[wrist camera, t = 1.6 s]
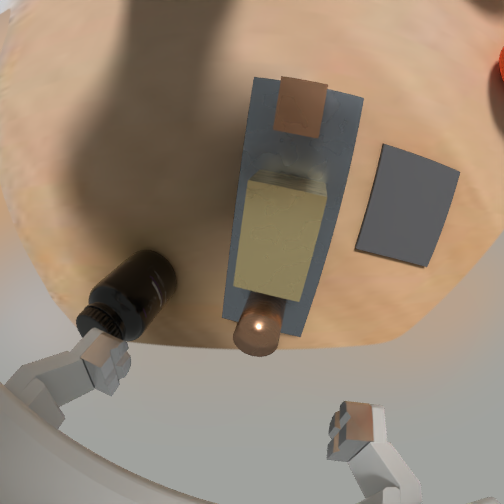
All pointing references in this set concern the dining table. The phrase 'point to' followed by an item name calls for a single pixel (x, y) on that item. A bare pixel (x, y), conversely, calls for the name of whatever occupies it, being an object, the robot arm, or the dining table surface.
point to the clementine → (501, 63)
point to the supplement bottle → (129, 297)
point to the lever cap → (278, 233)
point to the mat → (407, 206)
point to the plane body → (299, 165)
